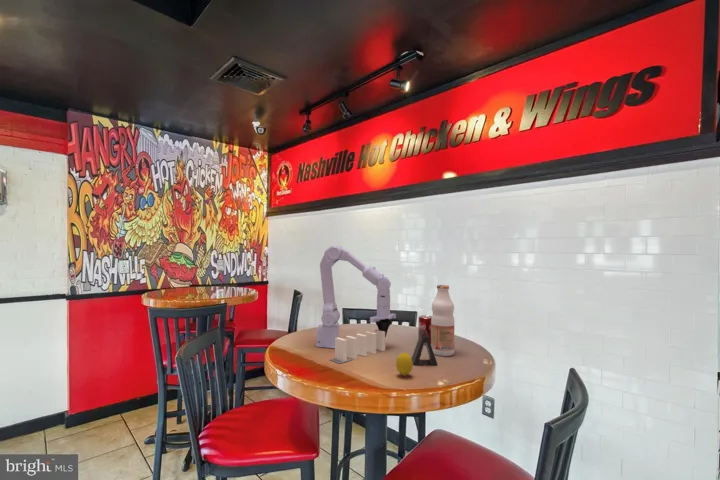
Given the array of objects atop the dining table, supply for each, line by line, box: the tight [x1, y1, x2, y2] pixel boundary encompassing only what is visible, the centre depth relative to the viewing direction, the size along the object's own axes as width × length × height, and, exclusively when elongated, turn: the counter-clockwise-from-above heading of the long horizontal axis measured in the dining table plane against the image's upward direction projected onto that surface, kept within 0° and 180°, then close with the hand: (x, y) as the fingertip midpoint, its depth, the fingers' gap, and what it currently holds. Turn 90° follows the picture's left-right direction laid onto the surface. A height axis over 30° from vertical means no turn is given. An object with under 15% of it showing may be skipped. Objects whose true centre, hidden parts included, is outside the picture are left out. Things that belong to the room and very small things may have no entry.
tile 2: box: [364, 331, 377, 355], centre depth 148 cm, size 2×5×8 cm, turn 44°
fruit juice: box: [431, 284, 455, 357], centre depth 148 cm, size 9×9×28 cm
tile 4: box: [345, 335, 358, 360], centre depth 140 cm, size 2×5×8 cm, turn 44°
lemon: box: [395, 351, 414, 377], centre depth 121 cm, size 6×6×8 cm
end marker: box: [329, 357, 353, 365], centre depth 137 cm, size 6×6×1 cm
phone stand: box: [411, 329, 439, 367], centre depth 135 cm, size 9×6×12 cm, turn 89°
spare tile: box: [334, 337, 348, 363], centre depth 137 cm, size 2×5×8 cm, turn 44°
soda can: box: [417, 314, 432, 346], centre depth 163 cm, size 7×7×12 cm
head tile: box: [373, 328, 386, 352], centre depth 152 cm, size 2×5×8 cm, turn 44°
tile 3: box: [355, 333, 368, 357], centre depth 144 cm, size 2×5×8 cm, turn 44°
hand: (383, 337), depth 153 cm, fingers closed
